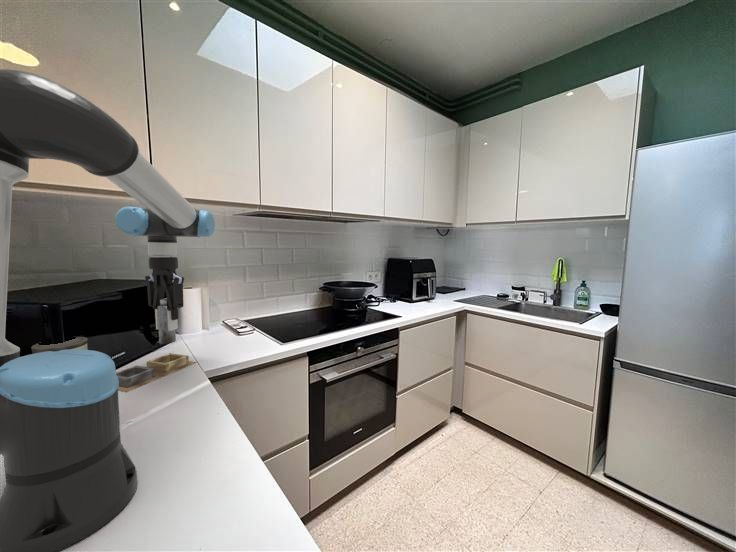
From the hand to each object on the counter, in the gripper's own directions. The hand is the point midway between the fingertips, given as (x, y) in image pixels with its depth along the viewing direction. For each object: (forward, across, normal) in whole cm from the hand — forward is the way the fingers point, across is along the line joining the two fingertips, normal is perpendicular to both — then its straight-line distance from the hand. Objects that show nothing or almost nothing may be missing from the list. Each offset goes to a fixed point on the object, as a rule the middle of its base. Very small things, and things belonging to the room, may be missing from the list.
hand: (167, 328), depth 92 cm
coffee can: (+14, +13, +20) cm, 27 cm away
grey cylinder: (+4, 0, 0) cm, 4 cm away
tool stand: (+14, 0, +6) cm, 15 cm away
